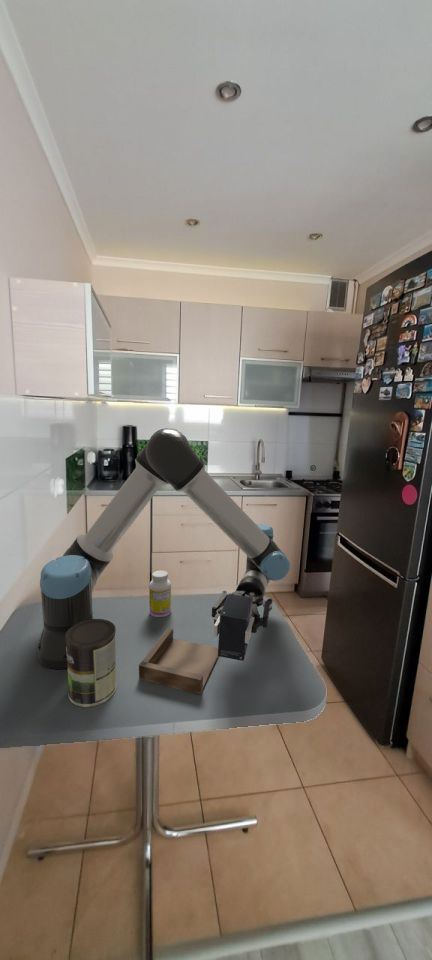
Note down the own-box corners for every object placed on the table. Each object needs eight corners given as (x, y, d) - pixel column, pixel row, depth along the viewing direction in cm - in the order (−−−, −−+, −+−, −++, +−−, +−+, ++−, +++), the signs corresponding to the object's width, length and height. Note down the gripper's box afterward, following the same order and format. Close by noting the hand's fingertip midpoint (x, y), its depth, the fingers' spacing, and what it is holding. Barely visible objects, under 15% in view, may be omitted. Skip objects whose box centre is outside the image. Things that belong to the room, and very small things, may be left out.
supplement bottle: (153, 606, 117) (152, 568, 114) (173, 607, 116) (173, 569, 114) (146, 617, 110) (146, 577, 108) (168, 619, 109) (167, 579, 107)
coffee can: (69, 714, 74) (65, 651, 72) (67, 680, 84) (64, 623, 81) (120, 699, 78) (119, 639, 76) (114, 668, 88) (112, 614, 85)
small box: (245, 662, 81) (247, 619, 79) (216, 657, 83) (218, 614, 81) (251, 635, 91) (253, 596, 89) (226, 631, 93) (227, 592, 91)
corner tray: (139, 679, 84) (138, 665, 84) (168, 639, 99) (168, 627, 99) (200, 694, 80) (200, 680, 79) (220, 650, 95) (221, 638, 94)
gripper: (285, 607, 101) (273, 659, 79) (218, 595, 106) (189, 640, 84) (287, 582, 99) (275, 627, 78) (219, 571, 105) (190, 610, 83)
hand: (230, 634), depth 81 cm, fingers closed on small box, 6 cm apart
